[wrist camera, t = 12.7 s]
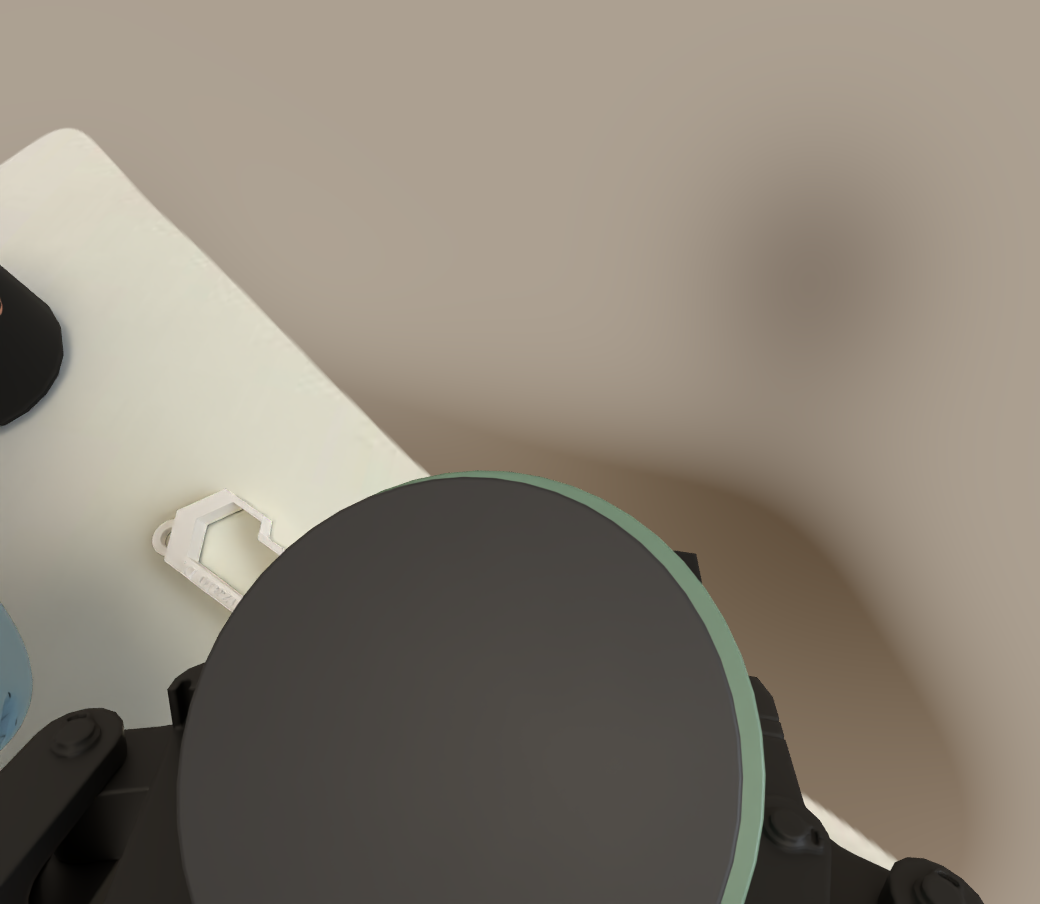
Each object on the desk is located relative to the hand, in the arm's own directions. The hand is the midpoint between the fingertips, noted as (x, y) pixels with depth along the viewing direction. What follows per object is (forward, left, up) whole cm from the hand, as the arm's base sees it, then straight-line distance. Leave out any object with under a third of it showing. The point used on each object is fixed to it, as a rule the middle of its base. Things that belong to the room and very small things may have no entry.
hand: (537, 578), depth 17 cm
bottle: (+1, -3, -8) cm, 9 cm away
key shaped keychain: (-16, -4, -20) cm, 26 cm away
